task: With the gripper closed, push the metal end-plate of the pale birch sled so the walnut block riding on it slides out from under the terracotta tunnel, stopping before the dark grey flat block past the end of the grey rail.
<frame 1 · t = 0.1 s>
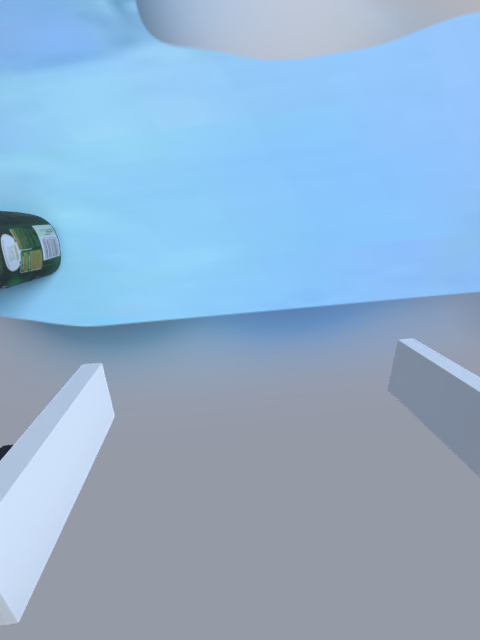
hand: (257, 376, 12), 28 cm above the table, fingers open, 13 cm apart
coffee jar: (24, 245, 34), on the table
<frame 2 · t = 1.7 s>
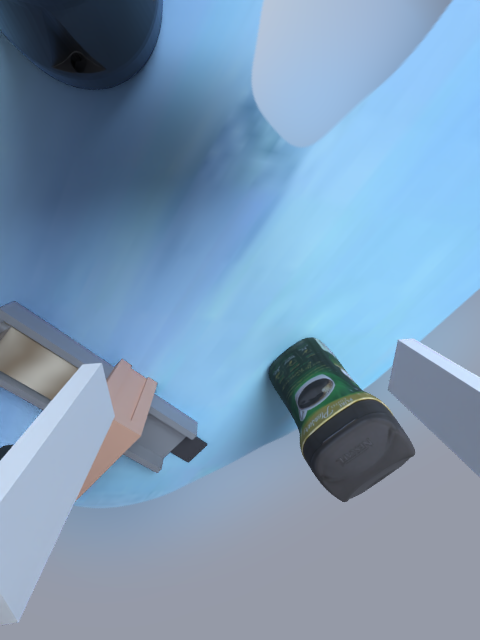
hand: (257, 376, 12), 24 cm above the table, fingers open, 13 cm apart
dark grey flat block: (188, 446, 43), on the table
sled: (55, 392, 32), point 4 cm above the table, slide at 0.0 cm
tunnel: (113, 400, 38), resting in rail
coffee jar: (300, 364, 40), on the table
rail: (97, 390, 38), on the table
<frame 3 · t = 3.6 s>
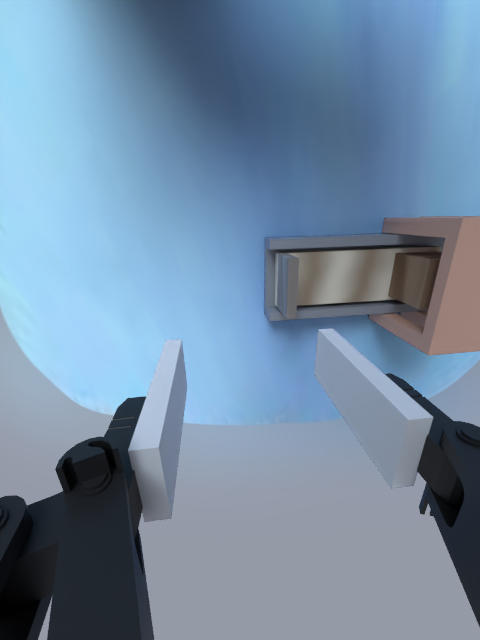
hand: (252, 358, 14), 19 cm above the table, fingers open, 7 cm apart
sled: (368, 280, 29), point 4 cm above the table, slide at 0.0 cm
tunnel: (398, 270, 33), resting in rail
rail: (379, 271, 33), on the table
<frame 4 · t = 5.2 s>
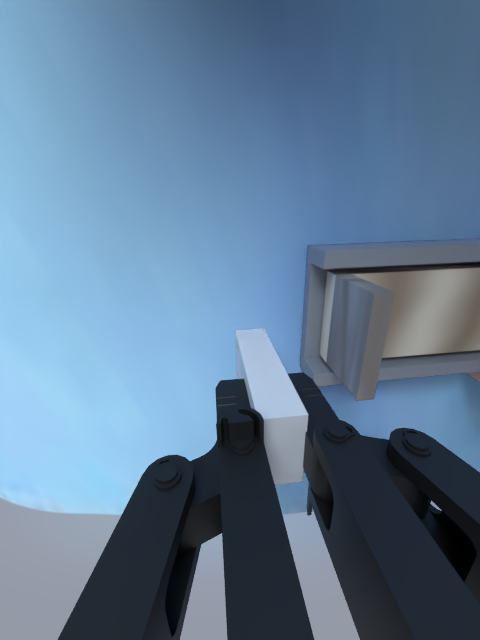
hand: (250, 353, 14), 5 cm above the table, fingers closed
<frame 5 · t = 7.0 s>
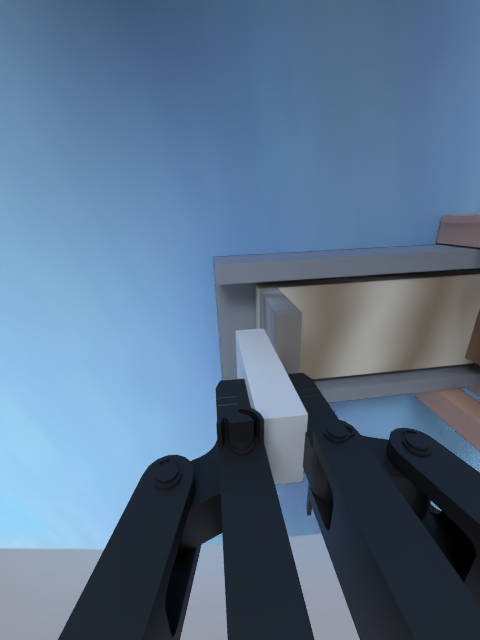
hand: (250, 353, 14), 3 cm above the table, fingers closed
sled: (440, 340, 14), point 4 cm above the table, slide at 1.3 cm, touching gripper
tunnel: (460, 308, 19), resting in rail
rail: (427, 311, 19), on the table
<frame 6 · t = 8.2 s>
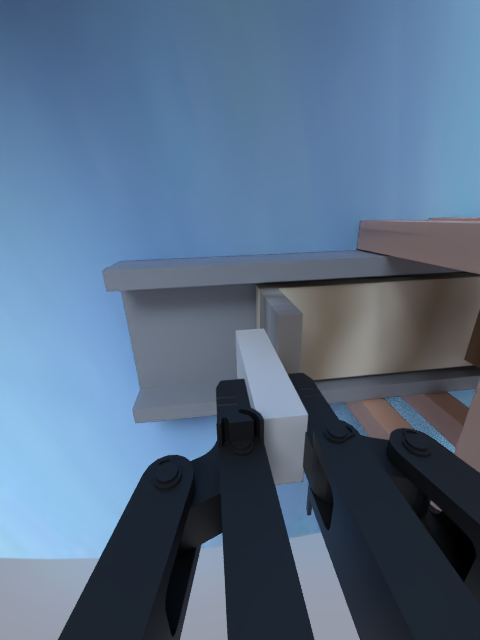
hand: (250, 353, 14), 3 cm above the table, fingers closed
sled: (440, 342, 14), point 4 cm above the table, slide at 6.5 cm, touching gripper
tunnel: (390, 315, 18), resting in rail
rail: (355, 318, 18), on the table
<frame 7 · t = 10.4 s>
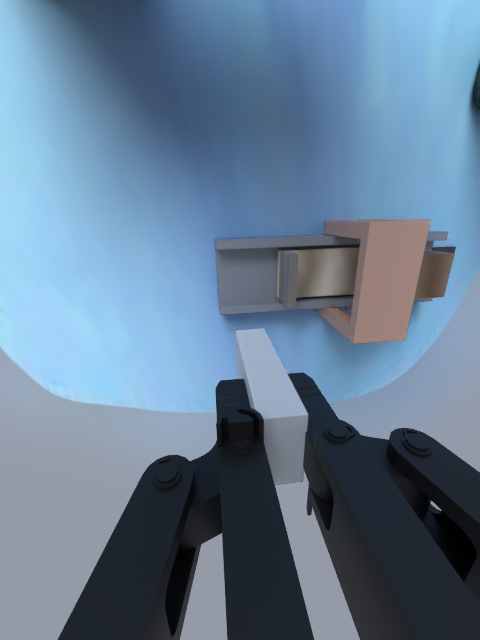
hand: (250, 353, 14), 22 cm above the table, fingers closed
dark grey flat block: (436, 264, 38), on the table
sled: (359, 274, 33), point 4 cm above the table, slide at 6.7 cm
tunnel: (341, 268, 36), resting in rail
rail: (324, 269, 36), on the table
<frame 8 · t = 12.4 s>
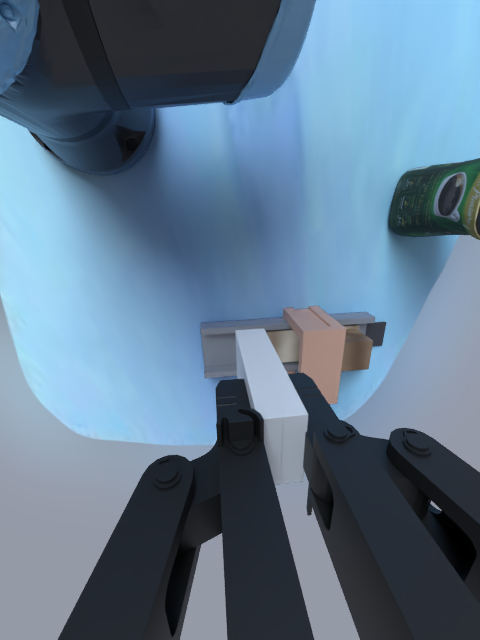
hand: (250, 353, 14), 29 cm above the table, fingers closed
dark grey flat block: (372, 334, 49), on the table
sled: (308, 350, 44), point 4 cm above the table, slide at 6.7 cm
tunnel: (298, 339, 48), resting in rail
coffee jar: (411, 203, 42), on the table
rail: (285, 340, 47), on the table
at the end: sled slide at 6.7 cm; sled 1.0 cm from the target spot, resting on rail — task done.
